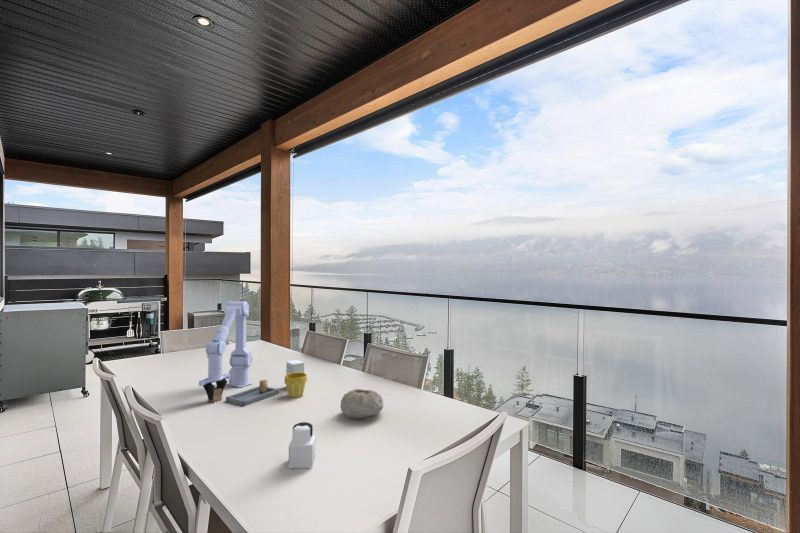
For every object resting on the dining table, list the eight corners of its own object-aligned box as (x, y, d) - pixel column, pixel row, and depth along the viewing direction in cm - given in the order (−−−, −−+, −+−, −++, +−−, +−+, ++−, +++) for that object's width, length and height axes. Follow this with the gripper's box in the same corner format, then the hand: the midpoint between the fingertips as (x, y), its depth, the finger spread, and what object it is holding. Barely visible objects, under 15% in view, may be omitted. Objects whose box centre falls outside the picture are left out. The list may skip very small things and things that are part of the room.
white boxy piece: (292, 457, 124) (293, 420, 124) (315, 457, 125) (315, 419, 125) (288, 469, 117) (288, 429, 117) (312, 468, 117) (312, 429, 117)
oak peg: (257, 392, 185) (257, 381, 185) (263, 390, 188) (263, 379, 188) (263, 394, 183) (263, 382, 183) (268, 392, 186) (269, 380, 186)
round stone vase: (365, 404, 173) (365, 382, 173) (392, 415, 160) (392, 391, 160) (332, 414, 160) (332, 390, 161) (358, 427, 148) (358, 401, 148)
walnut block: (208, 401, 174) (208, 389, 174) (215, 399, 178) (216, 387, 178) (213, 403, 172) (213, 390, 172) (221, 400, 176) (221, 388, 176)
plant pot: (280, 395, 183) (280, 375, 183) (298, 390, 191) (299, 370, 191) (291, 400, 176) (292, 379, 176) (311, 395, 184) (311, 375, 184)
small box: (304, 388, 195) (304, 362, 195) (292, 390, 191) (292, 364, 191) (297, 384, 201) (297, 359, 201) (285, 386, 197) (286, 361, 197)
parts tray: (226, 401, 174) (226, 397, 174) (261, 389, 192) (261, 385, 192) (244, 406, 169) (244, 401, 169) (278, 393, 186) (278, 389, 186)
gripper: (206, 372, 167) (205, 404, 167) (234, 365, 179) (234, 394, 179) (196, 370, 170) (195, 401, 170) (224, 363, 183) (224, 392, 183)
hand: (214, 397), depth 175 cm, fingers open, 4 cm apart
